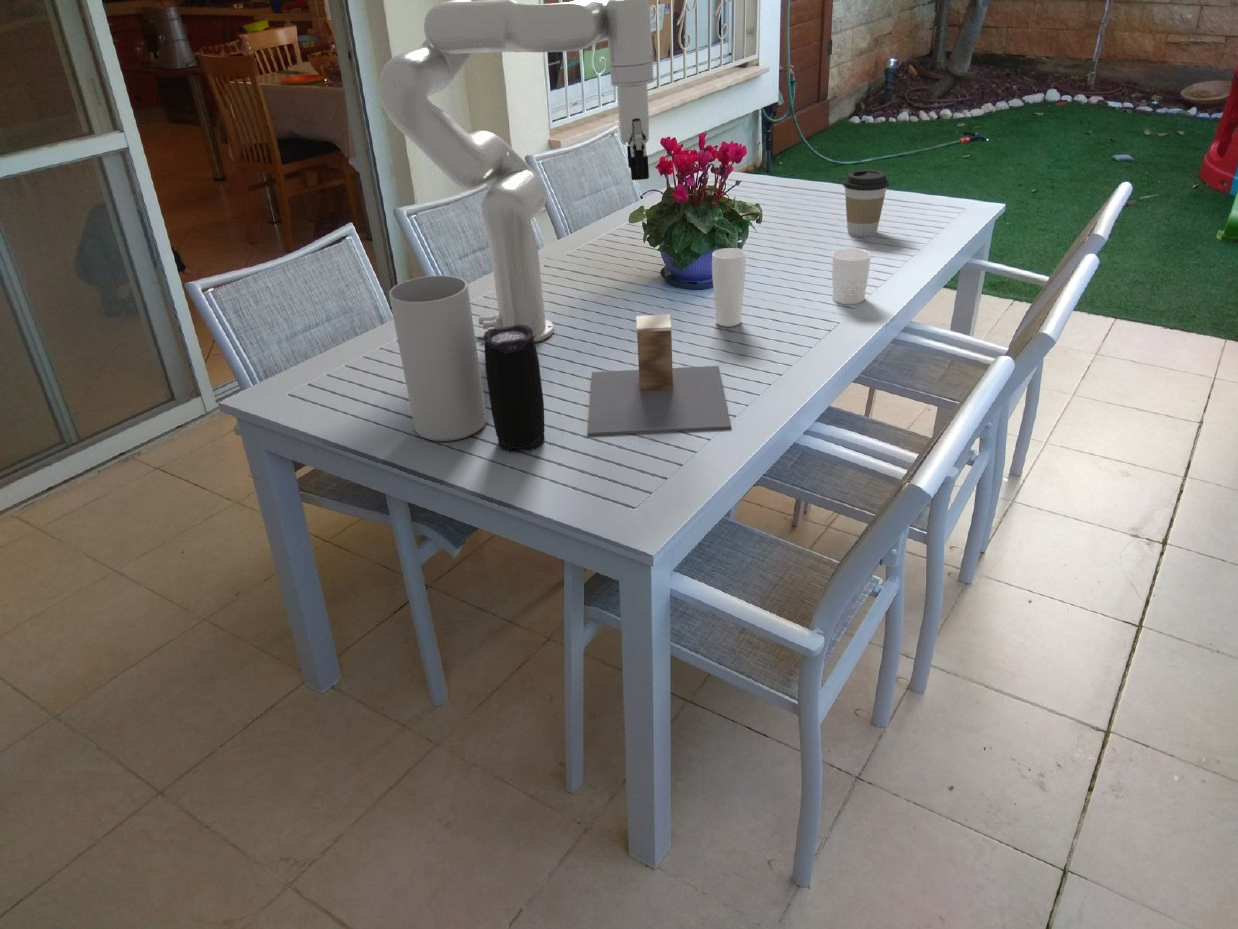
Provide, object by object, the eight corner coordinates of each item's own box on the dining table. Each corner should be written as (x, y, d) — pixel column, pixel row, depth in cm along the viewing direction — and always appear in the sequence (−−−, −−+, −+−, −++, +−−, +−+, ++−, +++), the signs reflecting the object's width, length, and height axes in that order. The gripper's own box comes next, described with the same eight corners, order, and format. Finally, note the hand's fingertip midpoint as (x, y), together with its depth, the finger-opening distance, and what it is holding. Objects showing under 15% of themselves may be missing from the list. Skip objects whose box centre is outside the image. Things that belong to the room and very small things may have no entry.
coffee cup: (858, 223, 248) (862, 166, 241) (893, 232, 241) (899, 172, 233) (830, 233, 242) (834, 175, 235) (866, 242, 235) (871, 182, 227)
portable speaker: (542, 425, 160) (530, 318, 150) (551, 451, 152) (540, 340, 142) (492, 433, 159) (477, 325, 149) (499, 459, 151) (484, 348, 141)
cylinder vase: (502, 421, 162) (483, 284, 149) (446, 450, 154) (421, 308, 142) (456, 402, 170) (434, 270, 157) (400, 429, 162) (373, 292, 149)
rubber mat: (587, 435, 156) (587, 433, 156) (591, 374, 177) (591, 372, 176) (731, 428, 155) (731, 426, 155) (718, 368, 176) (718, 365, 176)
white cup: (829, 305, 200) (831, 259, 195) (830, 292, 206) (833, 248, 201) (866, 306, 198) (870, 260, 193) (867, 293, 205) (871, 248, 200)
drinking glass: (743, 329, 191) (744, 258, 183) (710, 328, 192) (710, 258, 185) (746, 317, 197) (747, 247, 189) (714, 316, 198) (713, 247, 190)
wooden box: (639, 390, 168) (636, 328, 162) (639, 376, 173) (636, 315, 167) (673, 389, 168) (671, 327, 162) (671, 374, 173) (669, 314, 167)
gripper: (609, 69, 172) (616, 164, 180) (612, 83, 157) (620, 186, 165) (649, 65, 172) (655, 160, 180) (656, 79, 157) (662, 182, 165)
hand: (638, 172), depth 173 cm, fingers open, 9 cm apart
